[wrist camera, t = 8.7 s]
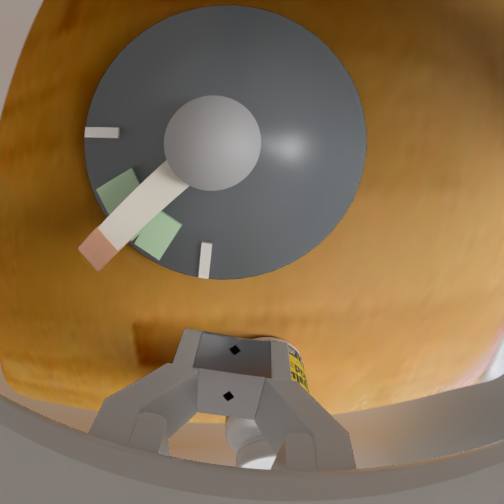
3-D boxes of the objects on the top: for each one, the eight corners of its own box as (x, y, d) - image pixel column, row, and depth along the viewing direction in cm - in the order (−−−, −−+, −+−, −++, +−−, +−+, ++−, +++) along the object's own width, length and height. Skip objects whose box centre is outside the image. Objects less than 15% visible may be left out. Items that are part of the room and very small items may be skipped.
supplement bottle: (315, 350, 22) (344, 460, 13) (275, 394, 24) (285, 497, 15) (253, 321, 21) (256, 440, 12) (216, 370, 23) (205, 481, 14)
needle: (225, 88, 14) (219, 76, 11) (274, 146, 16) (281, 150, 12) (85, 218, 17) (54, 238, 13) (128, 267, 18) (106, 296, 15)
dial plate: (375, 42, 15) (384, 36, 13) (328, 285, 20) (333, 295, 19) (115, 12, 13) (106, 5, 12) (91, 252, 19) (82, 260, 18)
